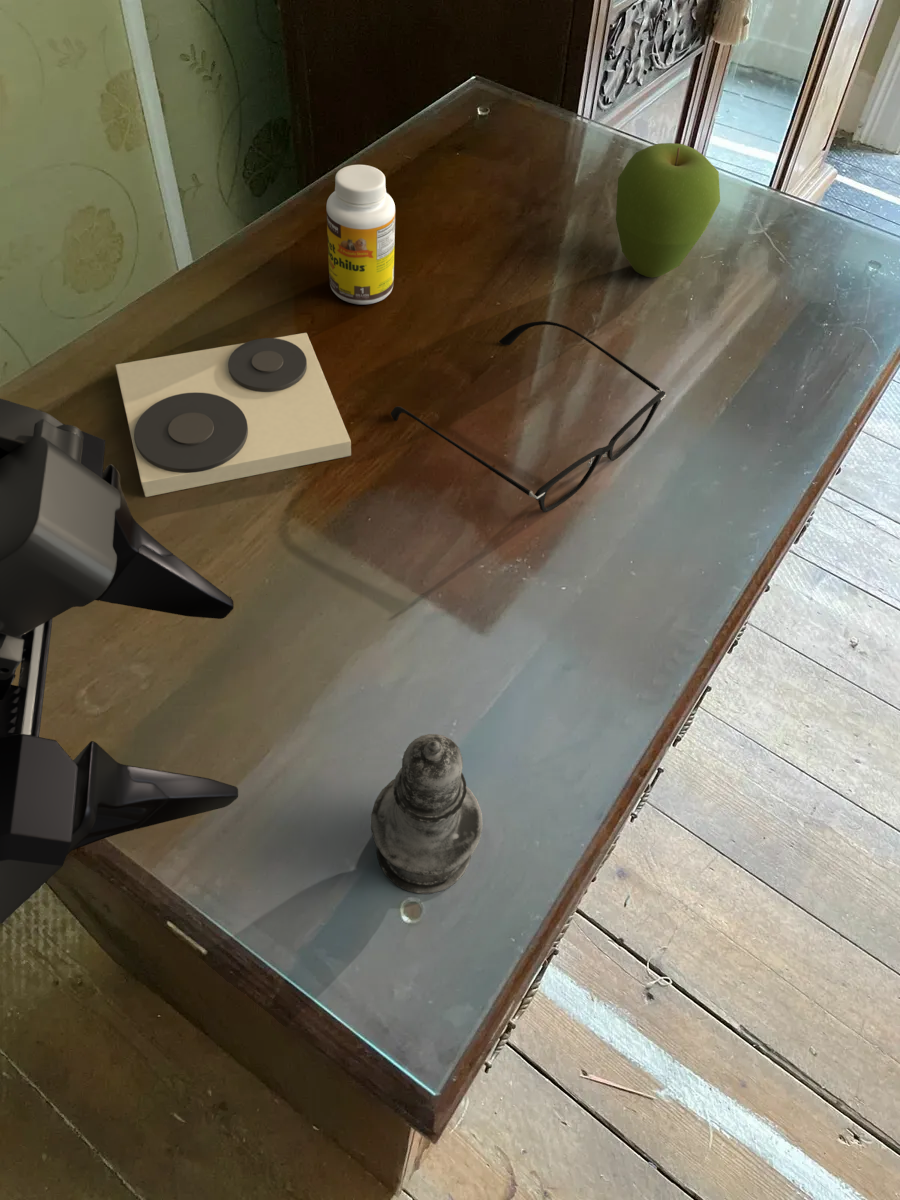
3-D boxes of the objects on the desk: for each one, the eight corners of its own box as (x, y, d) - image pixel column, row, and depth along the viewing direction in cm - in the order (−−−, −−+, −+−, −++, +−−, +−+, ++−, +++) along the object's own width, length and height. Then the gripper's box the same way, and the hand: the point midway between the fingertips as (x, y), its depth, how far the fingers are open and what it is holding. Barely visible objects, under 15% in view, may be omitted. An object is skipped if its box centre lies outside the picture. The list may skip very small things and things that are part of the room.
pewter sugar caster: (355, 821, 53) (349, 713, 44) (450, 783, 55) (465, 671, 46) (396, 916, 50) (400, 823, 41) (495, 873, 52) (521, 773, 43)
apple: (586, 277, 86) (610, 153, 77) (622, 234, 91) (650, 111, 81) (675, 311, 84) (711, 186, 75) (708, 264, 88) (746, 142, 79)
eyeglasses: (532, 538, 67) (539, 499, 64) (373, 426, 73) (373, 385, 70) (666, 426, 75) (678, 386, 71) (513, 332, 81) (518, 292, 77)
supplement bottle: (316, 289, 83) (309, 177, 74) (358, 262, 85) (356, 150, 77) (365, 316, 81) (364, 204, 73) (407, 287, 84) (410, 176, 75)
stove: (145, 498, 67) (139, 477, 65) (119, 379, 74) (113, 358, 73) (351, 456, 71) (351, 436, 69) (307, 347, 78) (306, 326, 76)
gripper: (-209, 726, 21) (364, 827, 30) (-69, 241, 32) (321, 423, 41) (-303, 905, 27) (195, 944, 36) (-159, 448, 38) (197, 566, 47)
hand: (231, 697), depth 40 cm, fingers open, 9 cm apart
